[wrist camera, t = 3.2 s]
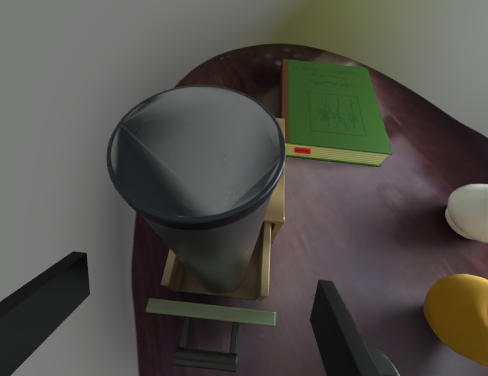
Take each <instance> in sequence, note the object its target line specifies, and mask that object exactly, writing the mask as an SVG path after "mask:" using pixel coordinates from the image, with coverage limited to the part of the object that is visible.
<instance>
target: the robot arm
mask: <svg viewBox="0 0 488 376" xmlns="http://www.w3.org/2000/svg"><path fill="white" fill-rule="evenodd" d="M89 295H90V290H89V278H88V266H87V254H86V253H82V252H72V253H70V254H69V255H67V256H66V257H64V258H63V259H62V260H60V261H59V262H57V263H56V264H54V265H53V266H51V267H50V268H48V269H47V270H46V271H44V272H43V273H41V274H40V275H38V276H37V277H36V278H34V279H32V280H31V281H30V282H28V283H27V284H25V285H24V286H23V287H21V288H20V289H18V290H17V291H15V292H14V293H12V294H11V295H9V296H8V297H7V298H5V299H3V300H2V301H1V302H0V376H10V375H11V374H12V373H13V372H14V371H15V370H16V369H17V368H18V367H19V366H20V365H21V364H22V363H23V362H24V361H25V360H26V359H27V358H28V357H29V356H30V355H31V354H32V353H33V352H34V351H35V350H36V349H37V348H38V347H39V346H40V345H41V344H42V343H43V342H44V341H45V340H46V339H47V337H49V336H50V335H51V334H52V332H53V331H54V330H55V329H56V328H57V327H58V326H59V325H60V324H61V323H62V322H63V321H64V320H65V319H66V318H67V317H68V316H69V315H70V314H71V313H72V312H73V311H74V310H75V309H76V308H77V307H78V305H80V304H81V303H82V302H83V301H84V300H85V299H86V297H88V296H89ZM310 322H311V325H312V328H313V332H314V335H315V338H316V342H317V345H318V348H319V352H320V355H321V358H322V362H323V365H324V368H325V371H326V375H327V376H400V375H399V373H398V371H397V370H396V368H395V366H394V365H393V363H392V362H391V361H390V360H389V359H388V358H387V357H386V356H385V354H384V353H383V352H382V351H381V350H376V349H368V348H367V346H366V344H365V342H364V341H363V339H362V337H361V335H360V333H359V331H358V329H357V327H356V325H355V323H354V321H353V319H352V318H351V316H350V314H349V312H348V310H347V308H346V306H345V304H344V302H343V300H342V298H341V297H340V295H339V293H338V291H337V289H336V287H335V285H334V283H333V281H326V280H319V281H318V285H317V290H316V295H315V299H314V304H313V308H312V313H311V317H310Z"/></svg>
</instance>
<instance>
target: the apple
mask: <svg viewBox="0 0 488 376" xmlns="http://www.w3.org/2000/svg"><path fill="white" fill-rule="evenodd" d="M424 314H425V317H426V320H427V321H428V323H429V325H430V327H431V328H432V330H433V331H434V332H435V334H436V335H437V336H438V337H439V339H440V340H441V341H442V342H443V343H444V344H446V345H447V346H448V347H449V348H451V349H452V350H453V351H455V352H456V353H458V354H460V355H462V356H464V357H467V358H469V359H471V360H473V361H475V362H477V363H480V364H482V365H486V366H488V280H486V279H484V278H481V277H477V276H472V275H468V274H456V275H452V276H448V277H444V278H443V279H441V280H439V281H437V282H436V283H435V284H434V285H433V286H432V287H431V288H430V290H429V291H428V293H427V295H426V299H425V303H424Z"/></svg>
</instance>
